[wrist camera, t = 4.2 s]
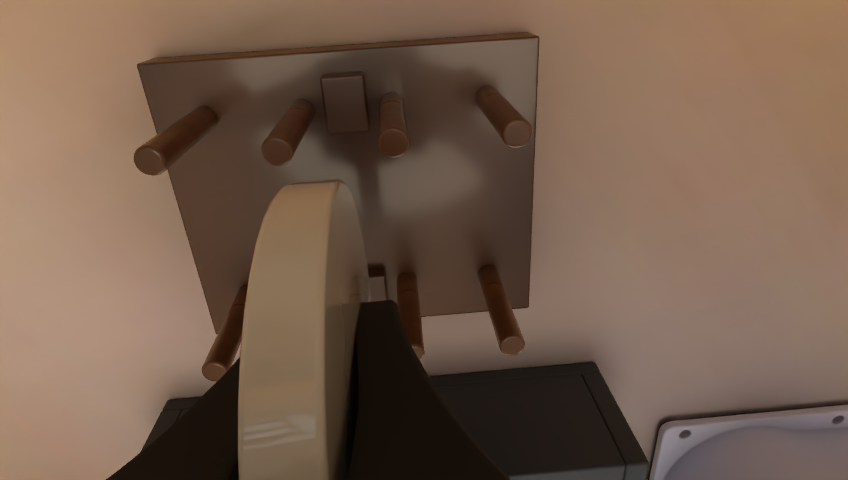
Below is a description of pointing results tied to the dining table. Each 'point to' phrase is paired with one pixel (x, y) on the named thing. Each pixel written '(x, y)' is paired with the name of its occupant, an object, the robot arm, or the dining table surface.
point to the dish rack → (359, 167)
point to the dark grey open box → (528, 422)
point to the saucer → (302, 336)
